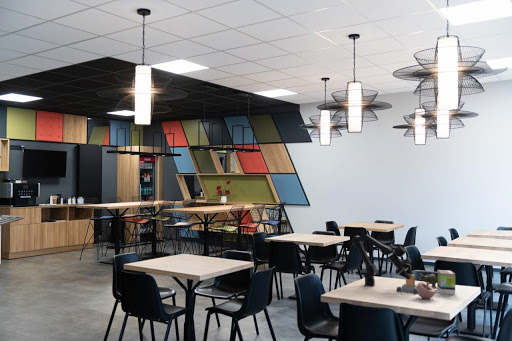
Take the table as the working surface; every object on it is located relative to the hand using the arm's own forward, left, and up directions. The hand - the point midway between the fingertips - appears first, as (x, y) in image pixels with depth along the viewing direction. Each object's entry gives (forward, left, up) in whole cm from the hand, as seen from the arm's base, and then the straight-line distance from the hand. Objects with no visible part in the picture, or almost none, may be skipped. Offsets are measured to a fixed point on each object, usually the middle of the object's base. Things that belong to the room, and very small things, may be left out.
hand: (411, 278), depth 344 cm
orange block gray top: (-1, 0, -8) cm, 8 cm away
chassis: (-1, 0, -9) cm, 9 cm away
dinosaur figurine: (+10, +20, -9) cm, 24 cm away
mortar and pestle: (+14, -20, -9) cm, 26 cm away
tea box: (+22, +8, -9) cm, 25 cm away
